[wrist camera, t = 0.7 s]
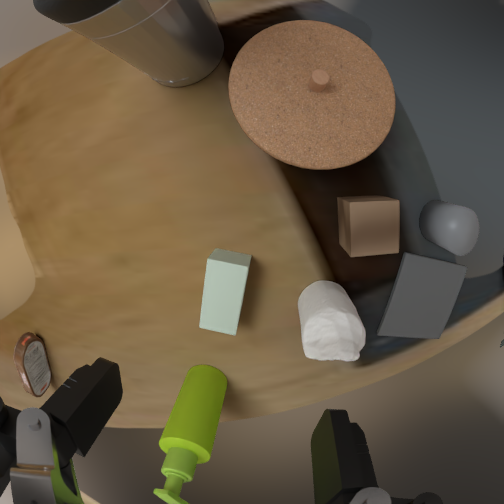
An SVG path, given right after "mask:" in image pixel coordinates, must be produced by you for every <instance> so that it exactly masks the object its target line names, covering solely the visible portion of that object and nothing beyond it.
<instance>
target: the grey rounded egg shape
mask: <svg viewBox="0 0 504 504" xmlns="http://www.w3.org/2000/svg"><path fill="white" fill-rule="evenodd" d="M419 226H420V230H421V233H422V235H423V236H424V237H425V238H426V239H427V240H429V241H431V242H433V243H435V244H437V245H439V246H441V247H443V248H444V249H446V250H448V251H450V252H452V253H454V254H455V255H458V256H463V255H466V254H467V253H469V252H470V251H471V250H472V249H473V247H474V246H475V244H476V242H477V239H478V236H479V221H478V218H477V216H476V214H475V212H474V211H473V210H471V209H470V208H467V207H463V206H459V205H455V204H451V203H447V202H443V201H439V200H433V201H430V202H428V203H427V204H426V205H425V206H424V208H423V209H422V211H421V214H420V218H419Z"/></svg>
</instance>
